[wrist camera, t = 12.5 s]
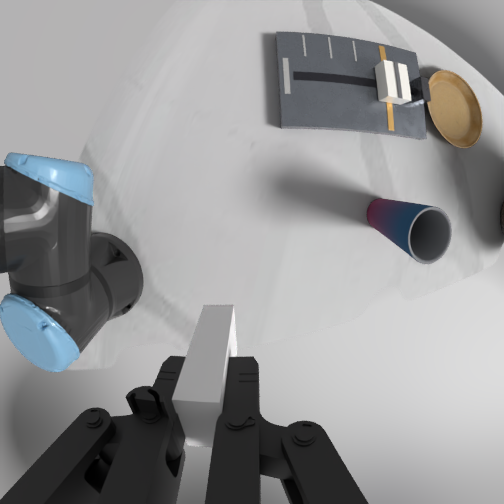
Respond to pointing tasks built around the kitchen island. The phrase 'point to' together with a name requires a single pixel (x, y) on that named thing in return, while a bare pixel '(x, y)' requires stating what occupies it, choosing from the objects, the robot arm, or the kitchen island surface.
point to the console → (345, 86)
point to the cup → (412, 227)
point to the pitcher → (502, 217)
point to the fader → (392, 82)
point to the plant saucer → (454, 109)
